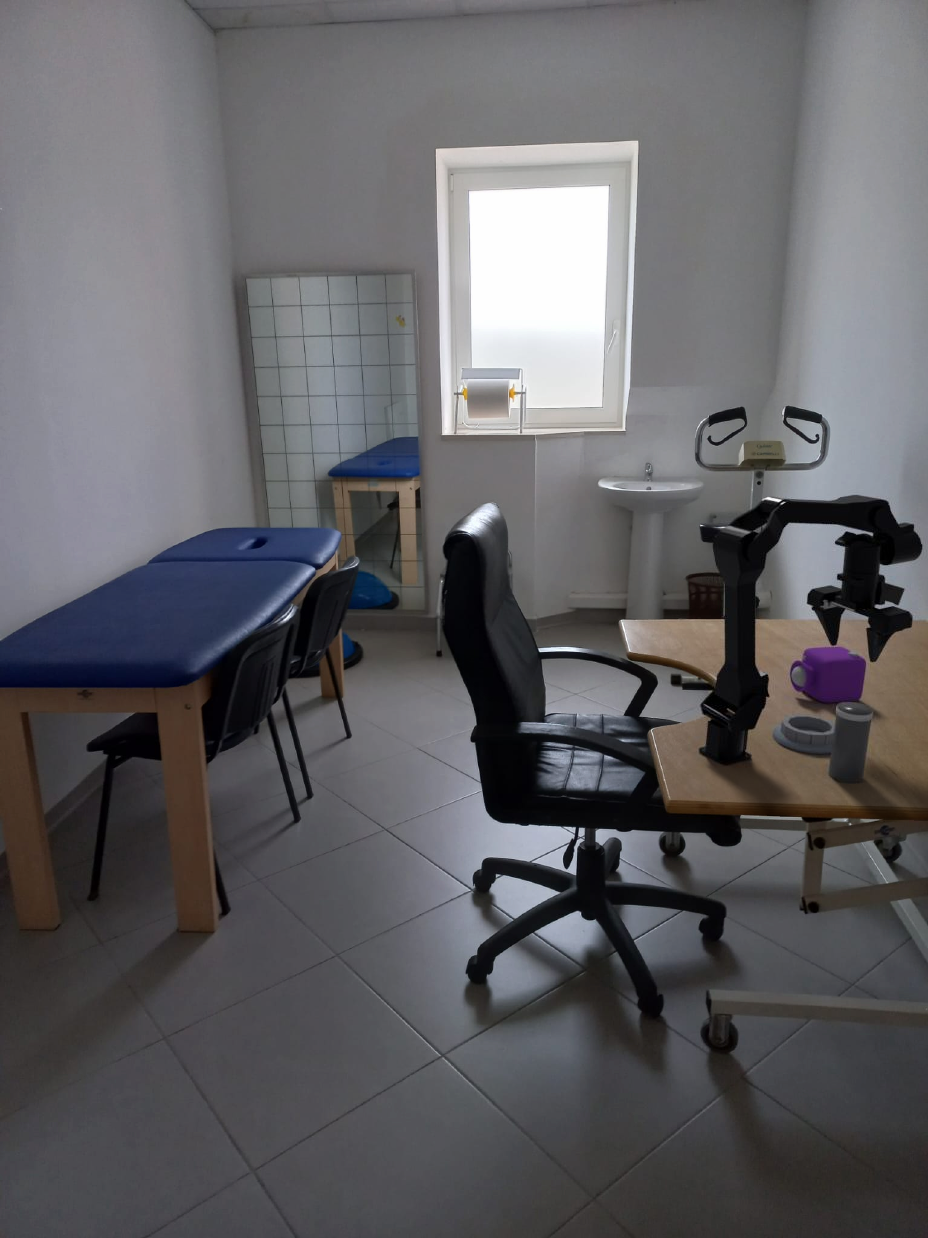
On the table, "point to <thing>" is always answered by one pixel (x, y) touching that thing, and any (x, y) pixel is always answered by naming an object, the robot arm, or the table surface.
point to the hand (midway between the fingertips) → (852, 653)
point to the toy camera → (829, 674)
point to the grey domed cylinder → (850, 742)
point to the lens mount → (805, 733)
